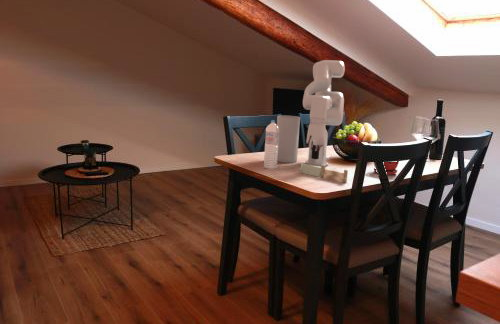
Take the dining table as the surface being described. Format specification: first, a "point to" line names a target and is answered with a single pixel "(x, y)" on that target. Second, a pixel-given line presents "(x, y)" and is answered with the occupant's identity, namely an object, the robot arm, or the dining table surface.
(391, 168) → the plant pot
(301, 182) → the dining table surface
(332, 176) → the fence fixed
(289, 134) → the cylinder vase
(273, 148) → the water bottle
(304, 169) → the bar
